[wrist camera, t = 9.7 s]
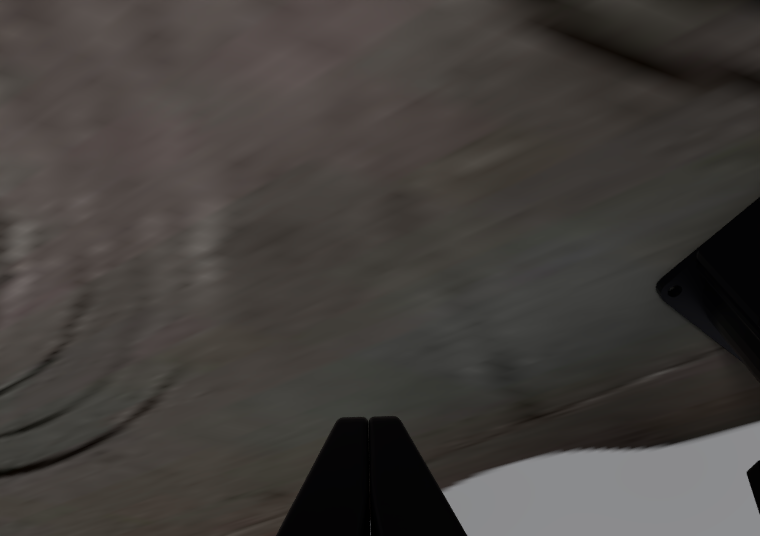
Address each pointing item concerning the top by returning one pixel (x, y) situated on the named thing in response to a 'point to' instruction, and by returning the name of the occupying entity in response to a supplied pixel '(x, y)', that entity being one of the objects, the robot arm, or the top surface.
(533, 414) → the top surface
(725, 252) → the robot arm
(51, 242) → the top surface
